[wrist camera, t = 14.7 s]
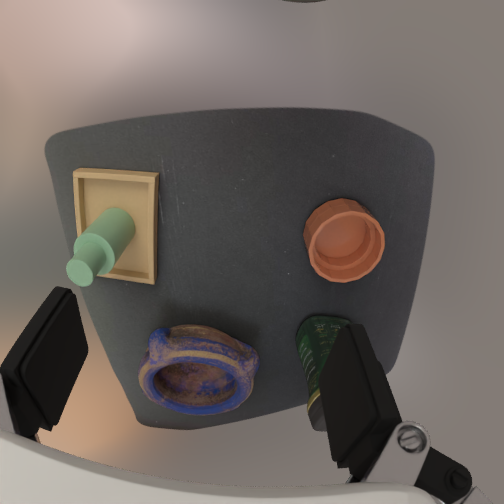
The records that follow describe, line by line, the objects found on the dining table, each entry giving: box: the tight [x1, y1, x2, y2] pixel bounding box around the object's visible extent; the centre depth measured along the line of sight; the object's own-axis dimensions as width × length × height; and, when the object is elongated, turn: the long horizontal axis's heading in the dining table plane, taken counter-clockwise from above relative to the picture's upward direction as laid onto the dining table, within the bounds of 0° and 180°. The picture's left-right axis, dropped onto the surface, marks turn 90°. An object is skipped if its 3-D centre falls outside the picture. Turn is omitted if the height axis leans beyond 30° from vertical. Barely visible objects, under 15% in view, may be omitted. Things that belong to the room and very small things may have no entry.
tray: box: [73, 168, 159, 284], centre depth 40 cm, size 16×12×2 cm
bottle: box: [66, 208, 135, 286], centre depth 35 cm, size 6×6×12 cm
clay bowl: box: [303, 198, 385, 283], centre depth 40 cm, size 10×10×5 cm
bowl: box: [138, 324, 260, 415], centre depth 48 cm, size 18×18×10 cm
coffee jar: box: [296, 316, 352, 431], centre depth 43 cm, size 10×8×19 cm
